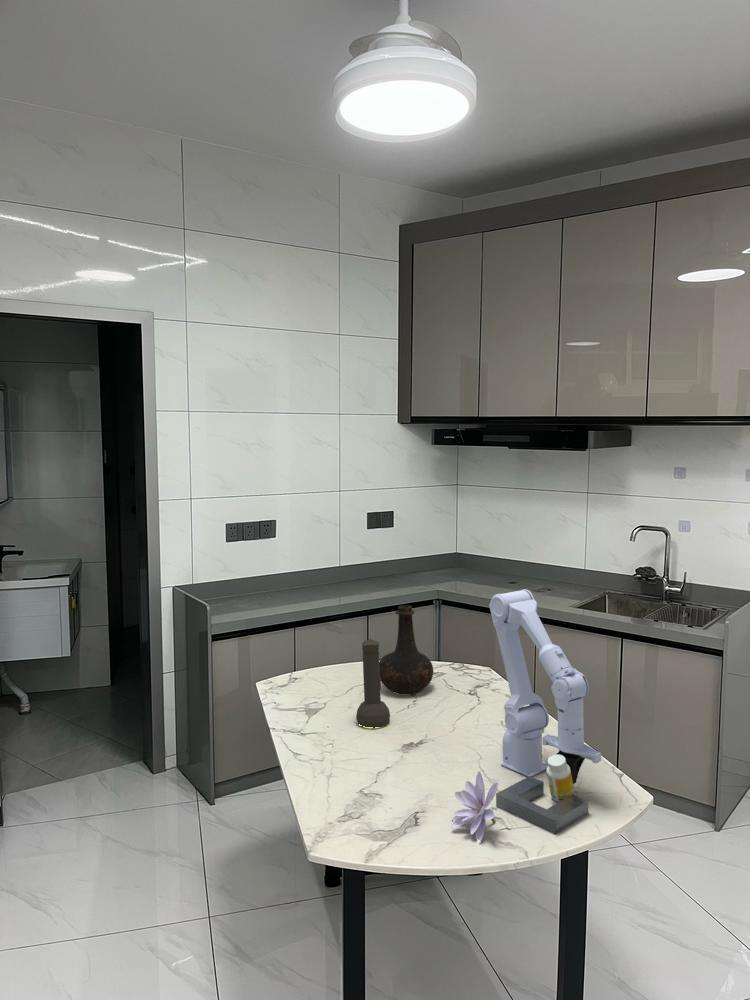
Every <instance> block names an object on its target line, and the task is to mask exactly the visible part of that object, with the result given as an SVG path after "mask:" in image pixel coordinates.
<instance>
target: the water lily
mask: <svg viewBox="0 0 750 1000" xmlns="http://www.w3.org/2000/svg"><path fill="white" fill-rule="evenodd" d="M484 782H485V781H484V778H483V775H482V773H481V771H480V770H478V772H477V774H476V777H475V785H474V784H473V783H472V782H471V781H469V780H466V781H465V784H464V790H463V789H461V790H460V791H456V792H454V797H455V799H456V800H457V801H458V802H459V803H460V805H462V806H464V807H467V808H463V809H459V810H457V811H455V812H453V815H454V817H453V818H452V820H453V821H454V822H452V824H451V825H450V828H452V829H454V828H458V827H461V826H464V825H466V824H468V823H470V822H472V821H473V820H474V821H473V823H472V824H471V826H470V829H469V830H470V831H469V832H470V835H474V834H475V835H474V836H475V840H476V839H478V840H480V844H481V842H482V840H483V838H484V835H485V830H486V820H487V821H488V820H489V821H491V822H492V823H493V824H495V823H497V822H496V820H495V812H494V810H493V809H491V808H488V806H489V805H490V804H491V803H492V801H493V799H494V798H495V797H496V793H497V790H498V787H499V786H498V785H499V782H498V781H497V782H495V783H493V784H492V785H491V786H490V788H489V790H488V792H487V795H486V792H485V791H486V790H485V783H484ZM452 820H451V821H452Z"/></svg>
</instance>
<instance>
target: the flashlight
mask: <svg viewBox="0 0 750 1000" xmlns="http://www.w3.org/2000/svg"><path fill="white" fill-rule="evenodd" d="M361 646H362V648H361V649H362V669H363V670H362V674H363V693H364V694H363V696H364V697H363V698H364V699H363V700H364V701H361V703H360V705H359V706H358V708H357V710H356V715H355V719H356V722H358V724H360V725H362V726H365V727H373V728H375V727H382V726H385V727H387V726H388V725H389V724H390V719H391V713H390V709H389V707H388V706H387V704H386V703H385V702H384V701H383V700H381V697H382V695H381V694H382V693H381V688H382V682H381V678H380V667H379V662H380V651H379V650H380V648H379V647H380V646H379V641H377V640H374V639H371V638H369V639H368V640H365V641H363V642H362V644H361ZM358 724H357V725H358ZM387 724H388V725H387ZM386 725H387V726H386ZM382 728H383V727H382Z"/></svg>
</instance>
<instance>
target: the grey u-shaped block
mask: <svg viewBox="0 0 750 1000" xmlns="http://www.w3.org/2000/svg"><path fill="white" fill-rule="evenodd" d="M544 783H545V782H544V781H543V780H541V779H538V778H535V777H534V776H532V777H531V776H529V777H528V776H526V777H525V778H523V779H521V780H519V781H518V782H515V783H513V784H511V785H509V786H508V787H506V788H504V789H502V790H500V791H498V792H496V793H495V801H496V802H495V806H496V807H497V808H498V809H500V810H503V811H505V812H507V813H510V814H512V815H514V816H516V817H518V818H520V819H523V820H525V821H526V822H528V823H530V824H533V825H535V826H537V827H538V828H539V827H540V828H541V829H543V830H546V831H548V832H549V833H552V834H554V835H556V834H558V833H559V832H561V831H563V830H565V829H566V828H568V827H570V826H571V825H573V824H574V823H576V822H577V821H579V820H580V819H582V818H584V817H585V816H587V815H588V814H589V810H590V807H589V800H588V799H586V798H583V797H582V796H579V795H576V794H575V795H574V794H572V795H570V796H569V797H567V798H565V799H564V800H562V801H560V802H558V801H557V802H556V803H555V804H553V805H552V806H550V807H548V808H545V807H543V806H541V805H538V804H536V803H533V802H532V801H534V800H536V799H538V798H539V797H542V796H543V795H545V788H544V787H545V785H544Z"/></svg>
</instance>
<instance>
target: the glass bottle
mask: <svg viewBox="0 0 750 1000" xmlns="http://www.w3.org/2000/svg"><path fill="white" fill-rule="evenodd" d="M397 608H398V610H397V611H396V612H395V615H396V614H397V615H398V622H397V623H398V624H397V625H398V626H397V627H398V629H397V639H396V640H397V641H396V647H395V649H394V651H392V652H390V653H388V654H385V655H383V656H382V657H381V658H380V659H379V667H380V678H381V685H383V686H384V687H385V688H386V689H387V690H389V691H390V692H392V693H394V692H395V693H394V694H397V693H398V695H402V694H410V695H415V694H417V693H418V694H419V693H420V692H422V691H423V690H425V689H426V688H427V687H428V686H429V684H430V683H431V681H432V679H433V678H434V677H433V676H434V667H433V663H432V661H431V660H430V658H429V657H428V656H427V655H425V654H423V653H422V652H420V651H419V650H418V647H417V643H416V640H415V633H414V631H415V630H414V623H413V615H414V614H415V611H414V610H412V609H413V607H412V606H411V605H405V604H404V605H403V604H402V605H398V607H397Z"/></svg>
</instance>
